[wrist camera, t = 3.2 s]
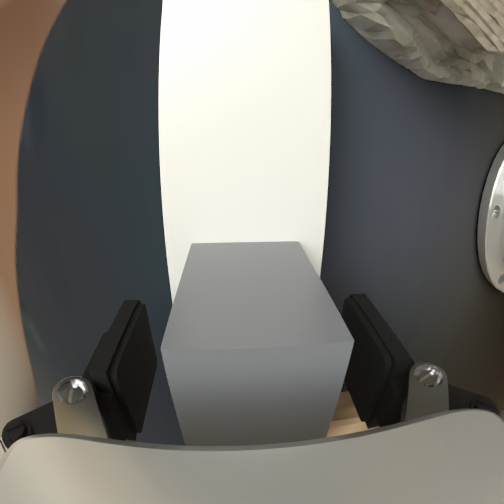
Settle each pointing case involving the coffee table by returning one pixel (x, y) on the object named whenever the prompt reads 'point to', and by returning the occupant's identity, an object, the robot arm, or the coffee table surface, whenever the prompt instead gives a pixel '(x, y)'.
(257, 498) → the robot arm
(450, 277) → the coffee table surface
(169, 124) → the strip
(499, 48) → the ceramic cottage
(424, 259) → the coffee table surface
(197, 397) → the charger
